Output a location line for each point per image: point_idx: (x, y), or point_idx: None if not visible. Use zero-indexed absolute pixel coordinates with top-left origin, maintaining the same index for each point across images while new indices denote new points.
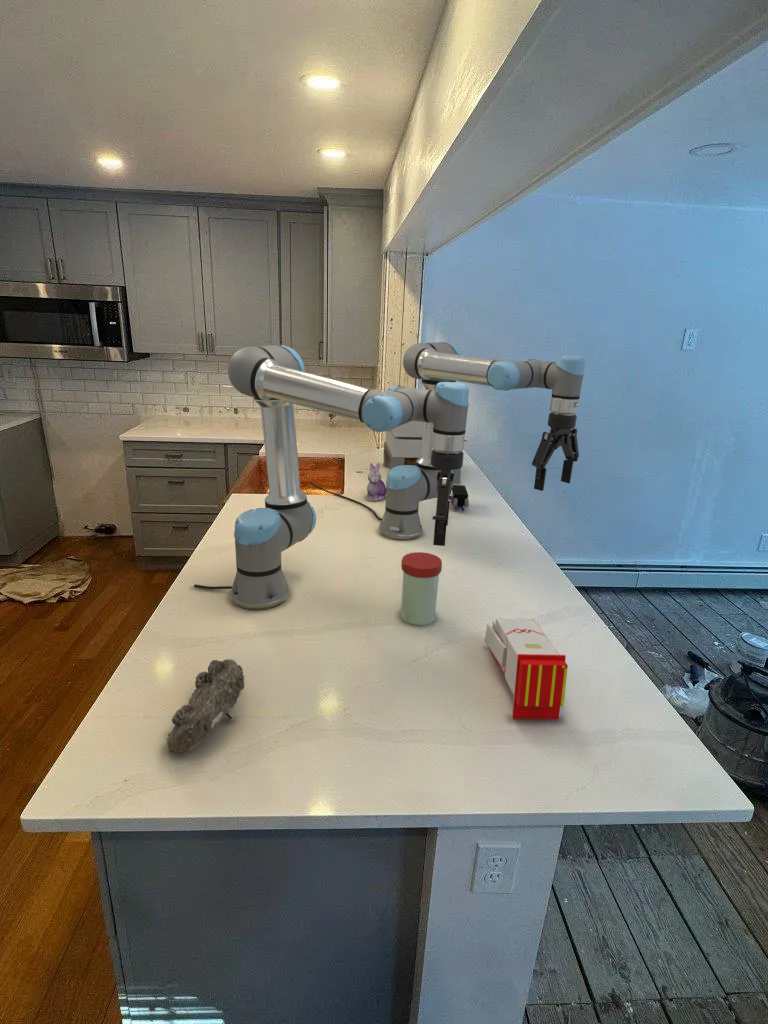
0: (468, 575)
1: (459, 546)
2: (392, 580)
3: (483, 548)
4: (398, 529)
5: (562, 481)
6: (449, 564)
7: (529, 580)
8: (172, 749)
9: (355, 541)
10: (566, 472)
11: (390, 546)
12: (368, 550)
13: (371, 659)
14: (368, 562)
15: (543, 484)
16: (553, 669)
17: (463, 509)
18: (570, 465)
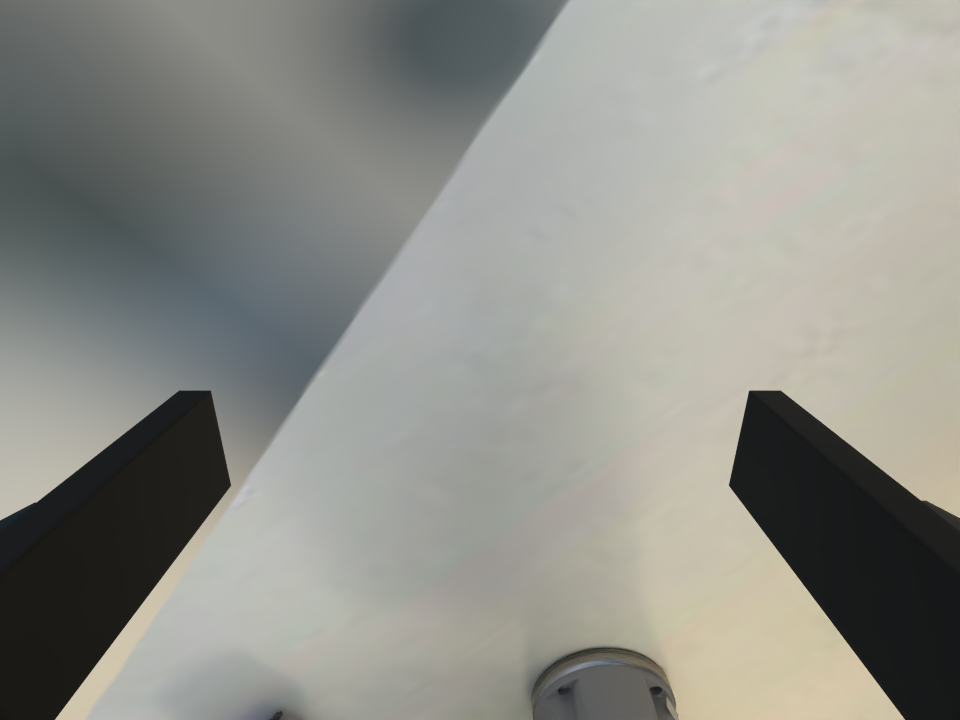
0: (714, 388)
1: (534, 546)
2: (922, 496)
3: (477, 495)
4: (667, 701)
5: (225, 465)
6: (686, 476)
7: (575, 228)
8: None
9: (759, 712)
10: (145, 516)
11: (712, 647)
12: (785, 659)
13: None
14: None
15: (811, 429)
16: None
17: (276, 717)
18: (31, 570)
